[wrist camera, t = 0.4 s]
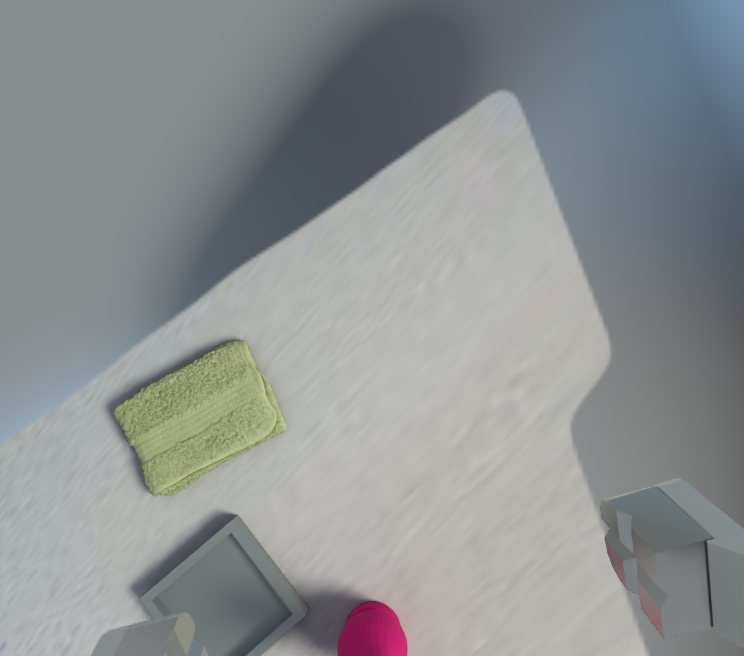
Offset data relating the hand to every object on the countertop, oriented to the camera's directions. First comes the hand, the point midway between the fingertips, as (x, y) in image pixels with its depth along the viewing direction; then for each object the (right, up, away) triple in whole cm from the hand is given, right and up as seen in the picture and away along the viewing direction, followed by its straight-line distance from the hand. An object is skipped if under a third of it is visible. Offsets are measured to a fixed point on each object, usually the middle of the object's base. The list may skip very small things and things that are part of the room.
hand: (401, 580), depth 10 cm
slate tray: (-17, -26, +48) cm, 57 cm away
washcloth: (-21, -6, +52) cm, 56 cm away
